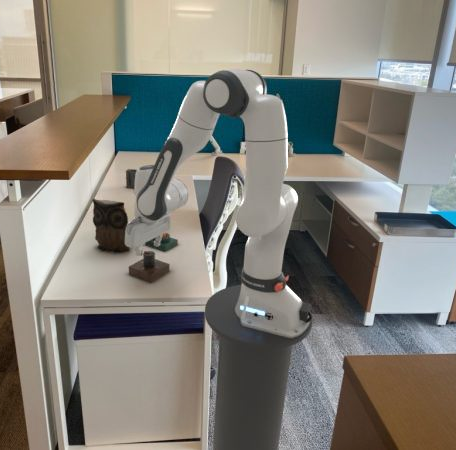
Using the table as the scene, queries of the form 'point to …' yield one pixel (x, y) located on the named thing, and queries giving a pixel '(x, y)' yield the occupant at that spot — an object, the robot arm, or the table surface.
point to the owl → (110, 225)
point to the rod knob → (149, 259)
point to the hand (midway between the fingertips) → (148, 250)
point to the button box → (164, 243)
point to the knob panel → (149, 270)
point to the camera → (130, 178)
